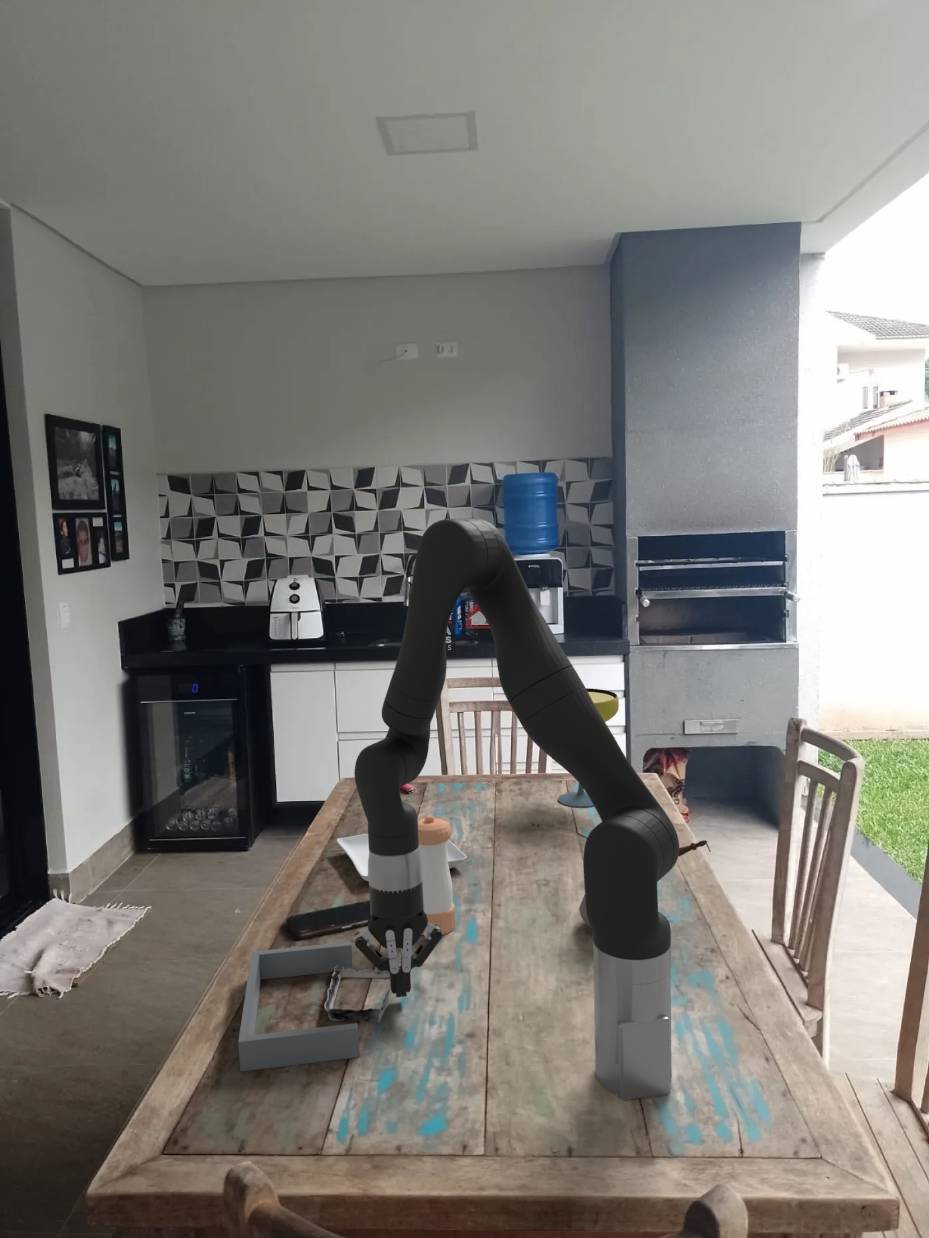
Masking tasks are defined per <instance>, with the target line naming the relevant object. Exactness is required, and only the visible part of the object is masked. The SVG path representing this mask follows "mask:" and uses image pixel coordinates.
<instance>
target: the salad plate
mask: <svg viewBox="0 0 929 1238" xmlns="http://www.w3.org/2000/svg"><path fill="white" fill-rule="evenodd" d="M336 844H338V846H339V847H340V848H341V850H342V851H343V852H344V853H345V854H346V855H347V856H348V857H349V860H351V862H352V863H353V866H354V868H355V870H356V872H358V873H357V874H359V876H360V877H361V878H362V879H363V880H364V881H366V882H369V878H368V858H369V841H368V833H362V834H357V835H352V836H345V837H340V838H337V839H336ZM447 852H448V866H449V870H450V869H453V868H456V867H458V866H461V865H462V864H464V862H466V860H467V858H468V857H467V855H466V854H465V853H464V852H463V851H462V850H461V849H459V848H458V847H457V846H456V845H455V844H454V843H453V842H452V841H451V840H450V839H449V840H447Z"/></svg>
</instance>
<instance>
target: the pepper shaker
mask: <svg viewBox="0 0 929 1238" xmlns="http://www.w3.org/2000/svg"><path fill="white" fill-rule="evenodd" d="M452 831H453V830H452V827H451V826H450V824H449V823H448V822H447V821H446V820H444V819H441V818H437V817H434V816H433V815H427V816H425V817H424V818H421V819H418V837H419V850H420V855H421V862H422V882H423V904H424V912H425V914H426V915H427V919H428V921H429V922H430V923H432V924H434V925H435V924H438V925H439V926H440V928H441V931H442V936H443V935H447V934H449V933H450V932H453V930H454V929H455V928H456V906H455V904H454V902H453V882H452V881H453V880H452V877H451V871H450V869H449V866H448V852H447V840H450V838H451V836H452ZM424 932H425V930H424V931H423V933H422V934H421V936H425V935H424Z"/></svg>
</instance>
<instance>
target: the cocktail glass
mask: <svg viewBox="0 0 929 1238" xmlns="http://www.w3.org/2000/svg"><path fill="white" fill-rule="evenodd" d="M585 688H586V687H585ZM586 689H587V691H588V693H589V695H590V697H591V699H592V701H593V703H594V705H595V706H596V708H597V710H598V711H599V713H600V715H601V716H602V718H603V720H604V721H605V723H606V722H609V721H610V720H612V718H613V717H615V716H616V714H617V713H618V711H619V708H620V706H619V705H620V703H619V701H620V700H619V697H618V694H617V693H615V692H614V691H611V690H607V689H606V690H605V689H600V688H599V689H598V688H589V687H587V688H586ZM557 801H558V803H560V804H561V805H563V806H567V807H572V808H591V807H592V808H593V807H594V805H593V803H592V801H591V800H590V798H589V796H588V795H587V793H586V792H585V790H584V789H583V787H582V786H581V785H580V783H579V782H578V788H577V791H573V792H572V791H571V792H566V793H563V794H561V795H559V796H558V797H557Z"/></svg>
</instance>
